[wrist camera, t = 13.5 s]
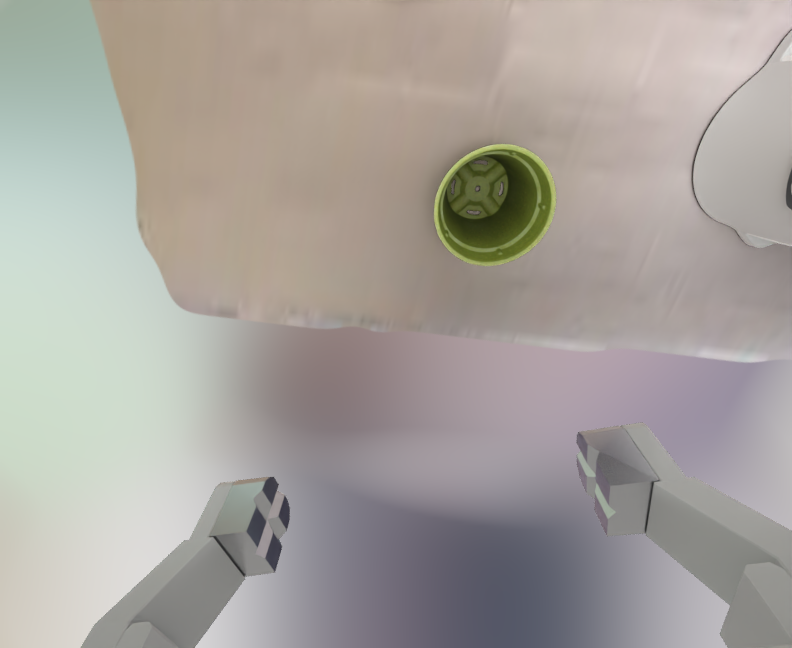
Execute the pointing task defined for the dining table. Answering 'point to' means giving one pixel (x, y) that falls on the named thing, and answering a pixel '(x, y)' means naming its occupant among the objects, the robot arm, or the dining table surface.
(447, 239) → the plant pot
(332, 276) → the dining table surface
